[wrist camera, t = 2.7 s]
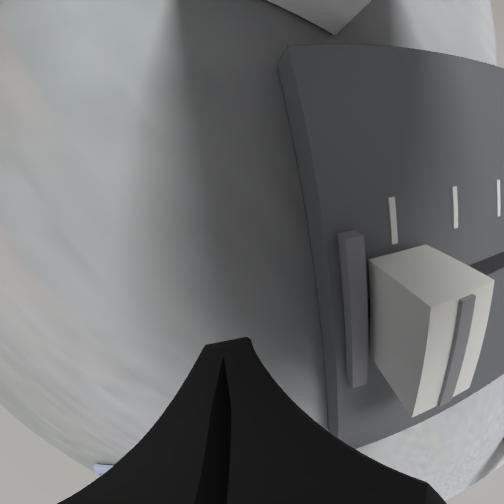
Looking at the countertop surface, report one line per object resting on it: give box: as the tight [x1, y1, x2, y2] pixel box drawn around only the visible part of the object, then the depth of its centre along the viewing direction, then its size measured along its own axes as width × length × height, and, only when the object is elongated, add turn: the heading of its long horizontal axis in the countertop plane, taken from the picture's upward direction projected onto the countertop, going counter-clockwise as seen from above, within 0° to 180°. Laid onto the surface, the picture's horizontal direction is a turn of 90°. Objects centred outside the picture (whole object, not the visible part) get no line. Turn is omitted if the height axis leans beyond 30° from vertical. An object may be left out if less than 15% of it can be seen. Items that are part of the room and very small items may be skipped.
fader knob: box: [368, 244, 495, 417], centre depth 8 cm, size 4×2×4 cm, turn 11°
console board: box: [277, 44, 504, 449], centre depth 11 cm, size 18×14×3 cm
